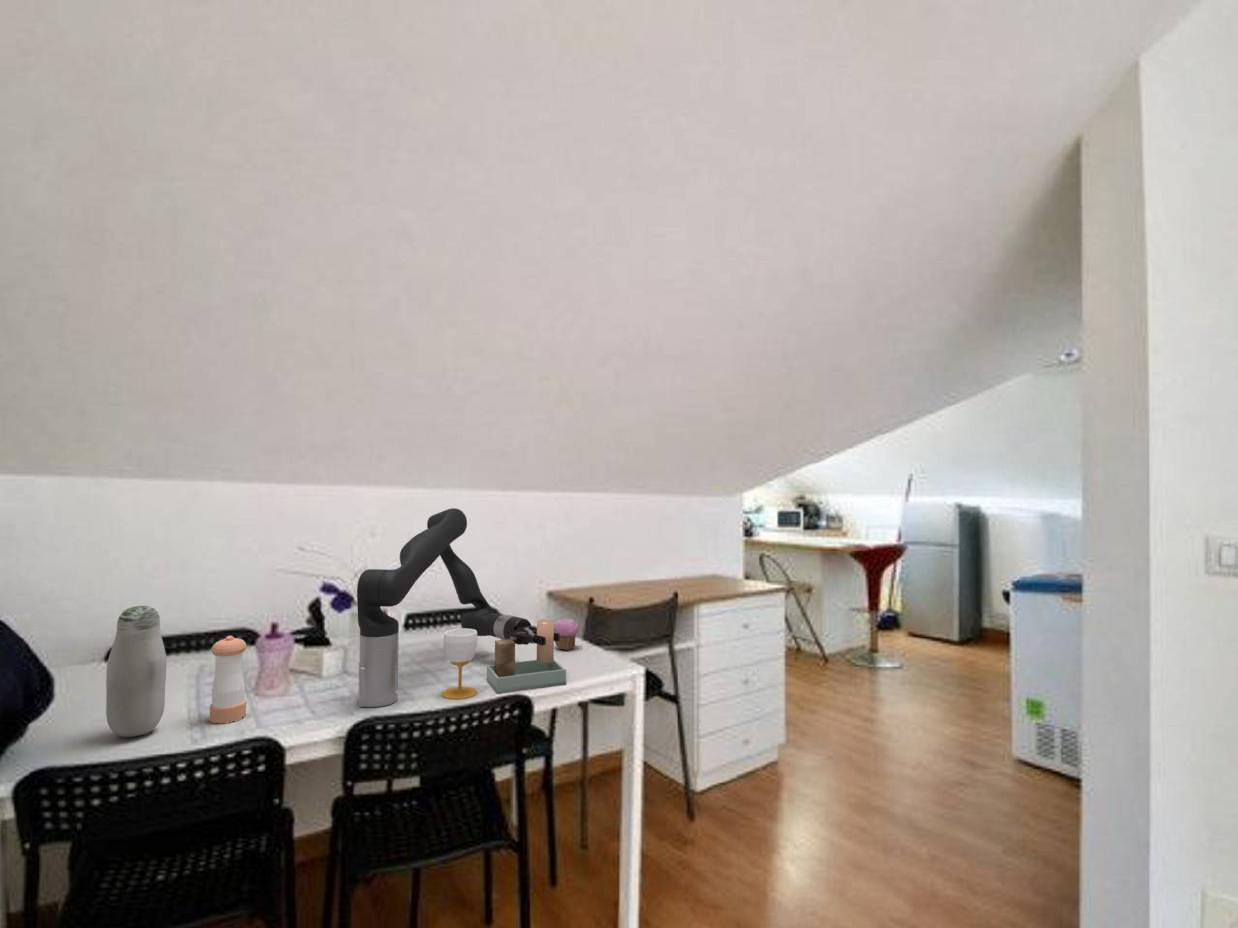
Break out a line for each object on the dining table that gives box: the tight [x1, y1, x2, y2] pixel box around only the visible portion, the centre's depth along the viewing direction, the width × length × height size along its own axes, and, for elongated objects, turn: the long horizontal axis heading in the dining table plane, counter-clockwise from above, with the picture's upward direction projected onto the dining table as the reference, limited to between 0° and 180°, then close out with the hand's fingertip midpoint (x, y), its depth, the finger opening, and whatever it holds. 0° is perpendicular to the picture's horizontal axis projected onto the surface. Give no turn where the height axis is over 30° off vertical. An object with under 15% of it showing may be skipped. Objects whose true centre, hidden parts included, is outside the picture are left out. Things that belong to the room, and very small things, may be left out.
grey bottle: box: [105, 605, 167, 738], centre depth 140 cm, size 10×10×28 cm
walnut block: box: [494, 639, 516, 677], centre depth 175 cm, size 4×4×11 cm
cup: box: [442, 628, 479, 700], centre depth 168 cm, size 9×9×16 cm
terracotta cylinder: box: [536, 619, 555, 663], centre depth 180 cm, size 5×5×11 cm
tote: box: [486, 659, 567, 695], centre depth 177 cm, size 19×12×4 cm, turn 114°
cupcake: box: [554, 618, 580, 651], centre depth 212 cm, size 9×9×10 cm
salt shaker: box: [209, 635, 247, 724], centre depth 150 cm, size 7×7×19 cm
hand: (551, 639), depth 178 cm, fingers closed on terracotta cylinder, 4 cm apart
